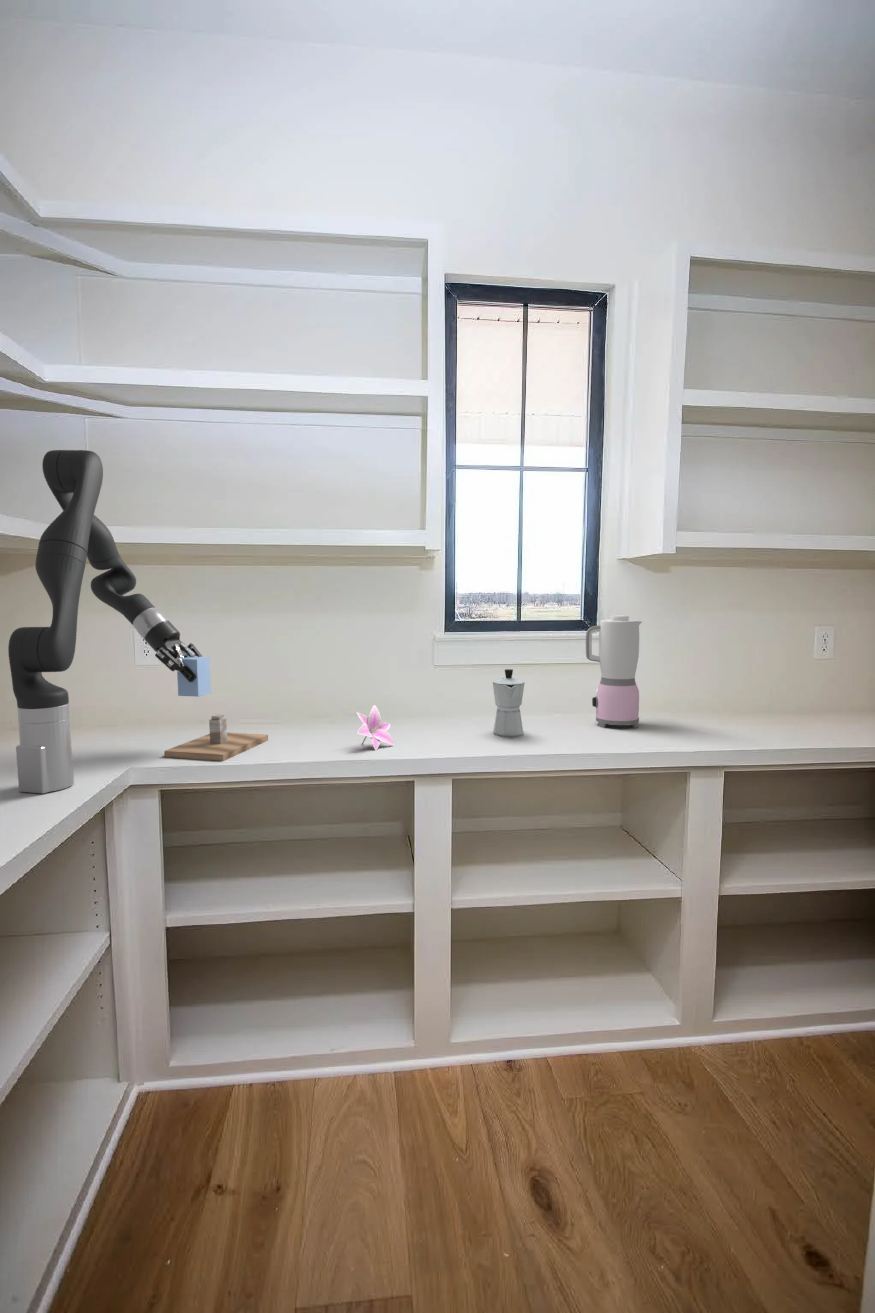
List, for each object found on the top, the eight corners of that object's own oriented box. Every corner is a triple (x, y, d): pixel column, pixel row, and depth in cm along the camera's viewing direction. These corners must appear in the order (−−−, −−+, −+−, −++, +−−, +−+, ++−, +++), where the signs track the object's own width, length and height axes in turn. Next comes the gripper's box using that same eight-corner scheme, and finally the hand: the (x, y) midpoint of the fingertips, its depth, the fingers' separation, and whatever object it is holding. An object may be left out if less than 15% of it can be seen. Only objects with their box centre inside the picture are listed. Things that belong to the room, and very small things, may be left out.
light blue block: (198, 696, 170) (196, 659, 169) (178, 695, 171) (176, 659, 170) (210, 692, 175) (209, 657, 174) (191, 692, 176) (189, 656, 175)
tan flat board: (223, 761, 163) (221, 725, 162) (164, 757, 167) (162, 722, 166) (268, 740, 184) (267, 708, 183) (215, 737, 188) (213, 706, 187)
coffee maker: (527, 738, 185) (527, 672, 183) (494, 738, 185) (494, 672, 183) (520, 726, 200) (520, 665, 198) (490, 727, 199) (490, 665, 198)
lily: (349, 756, 171) (365, 725, 168) (339, 729, 180) (353, 699, 177) (391, 765, 177) (407, 735, 174) (379, 738, 186) (394, 709, 183)
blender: (634, 721, 207) (637, 614, 203) (643, 729, 195) (646, 616, 191) (581, 720, 208) (583, 614, 205) (586, 729, 196) (588, 616, 193)
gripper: (147, 621, 166) (193, 671, 164) (181, 617, 180) (225, 664, 178) (129, 642, 167) (174, 692, 166) (164, 637, 181) (207, 684, 180)
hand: (200, 677), depth 172 cm, fingers closed on light blue block, 5 cm apart
